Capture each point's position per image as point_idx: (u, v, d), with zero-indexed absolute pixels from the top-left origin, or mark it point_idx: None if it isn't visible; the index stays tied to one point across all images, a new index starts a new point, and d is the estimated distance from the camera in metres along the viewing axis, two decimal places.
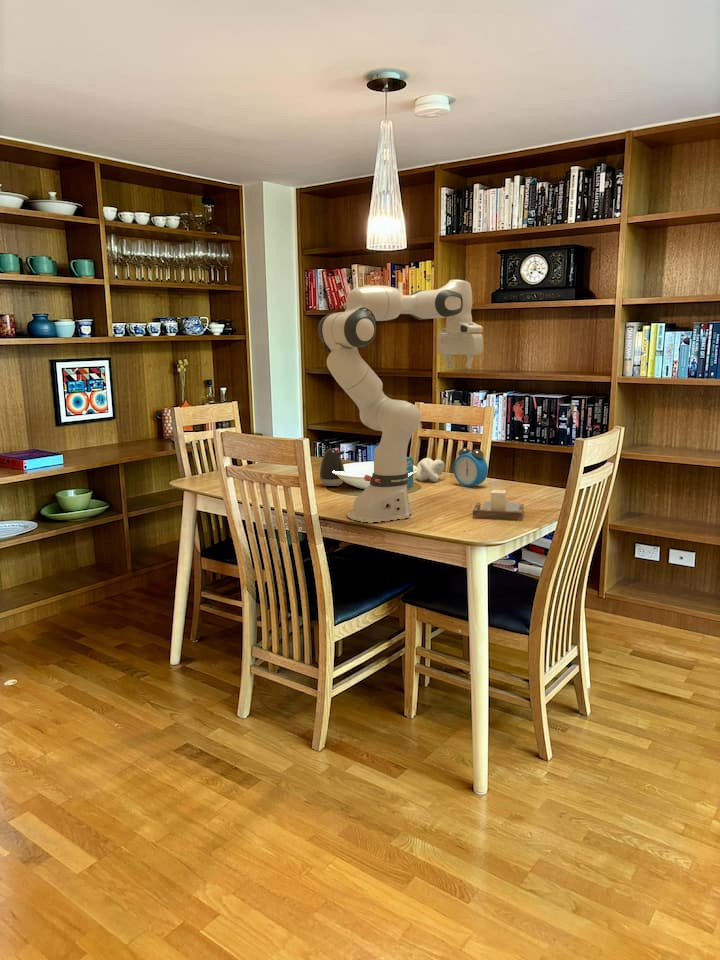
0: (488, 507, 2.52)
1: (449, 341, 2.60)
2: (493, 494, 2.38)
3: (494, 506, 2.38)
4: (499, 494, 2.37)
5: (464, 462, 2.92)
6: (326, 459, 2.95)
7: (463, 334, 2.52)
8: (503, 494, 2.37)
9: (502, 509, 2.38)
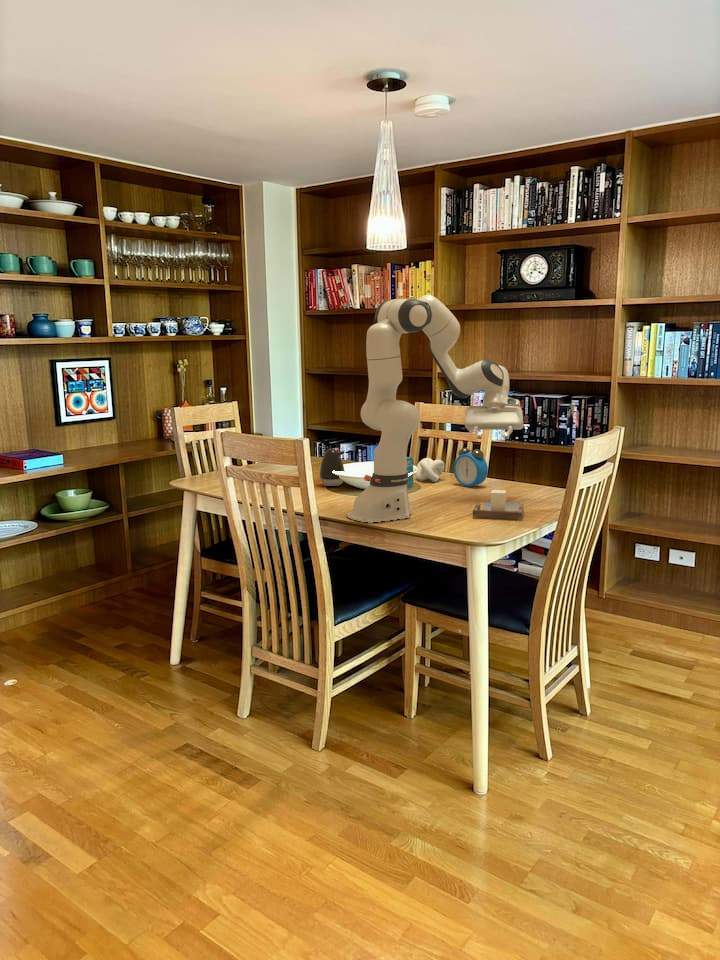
0: (488, 507, 2.52)
1: (484, 413, 2.59)
2: (493, 494, 2.38)
3: (494, 506, 2.38)
4: (499, 494, 2.37)
5: (464, 462, 2.92)
6: (326, 459, 2.95)
7: (509, 406, 2.57)
8: (503, 494, 2.37)
9: (502, 509, 2.38)
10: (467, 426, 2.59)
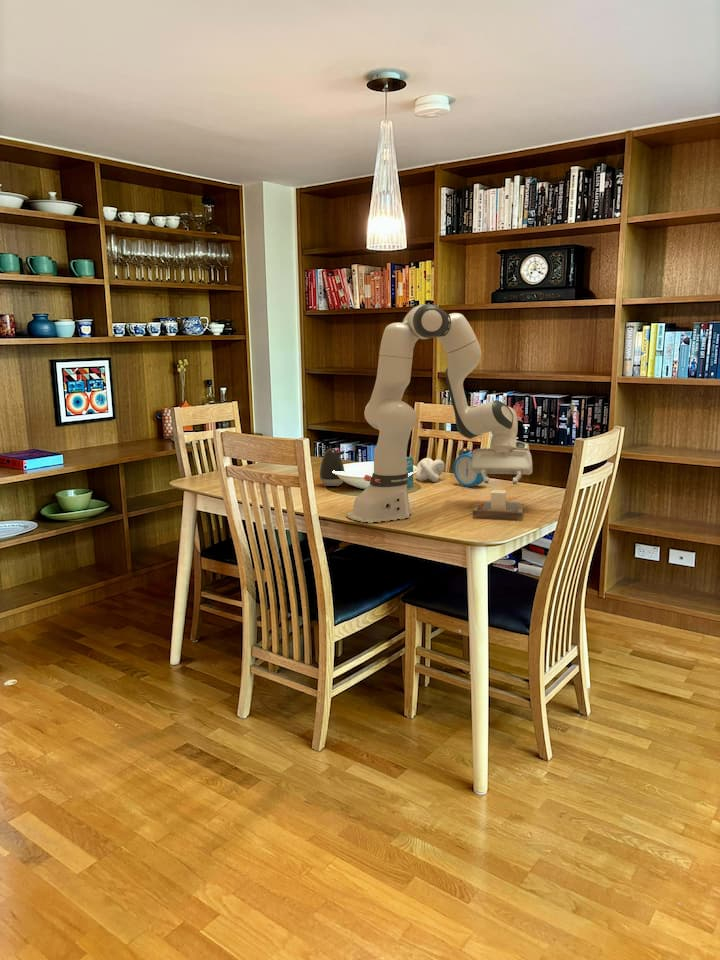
0: (488, 507, 2.52)
1: (492, 457, 2.49)
2: (493, 494, 2.38)
3: (494, 506, 2.38)
4: (499, 494, 2.37)
5: (464, 462, 2.92)
6: (326, 458, 2.95)
7: (518, 450, 2.47)
8: (503, 494, 2.37)
9: (502, 509, 2.38)
10: (474, 470, 2.49)
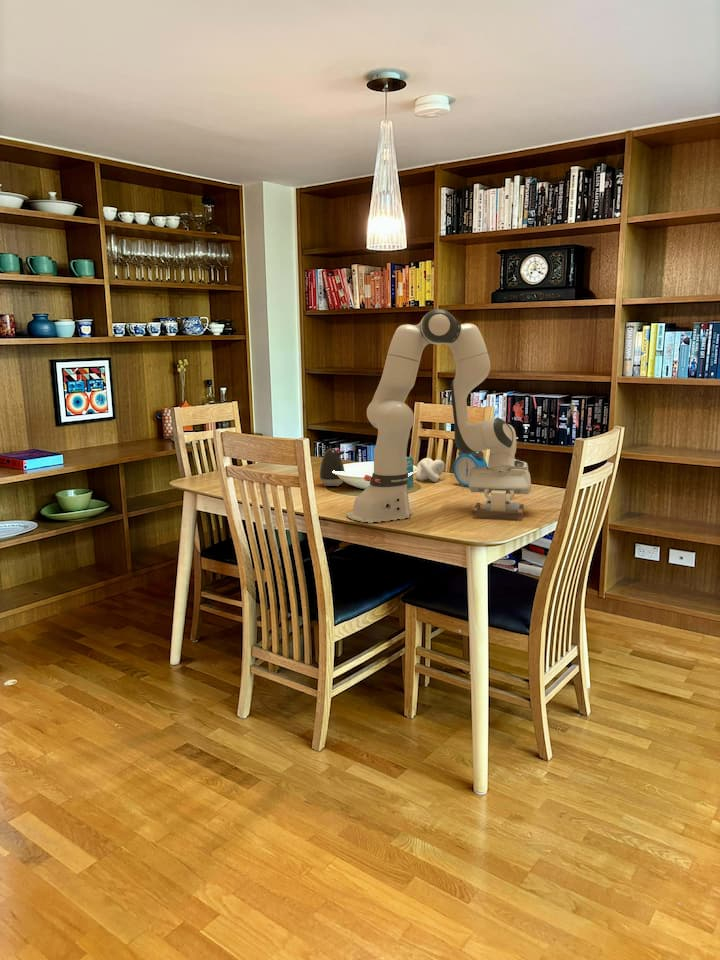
0: (488, 507, 2.52)
1: (490, 476, 2.44)
2: (493, 494, 2.38)
3: (494, 506, 2.38)
4: (499, 494, 2.37)
5: (464, 462, 2.92)
6: (326, 459, 2.95)
7: (516, 469, 2.42)
8: (503, 494, 2.37)
9: (502, 509, 2.38)
10: (471, 489, 2.44)
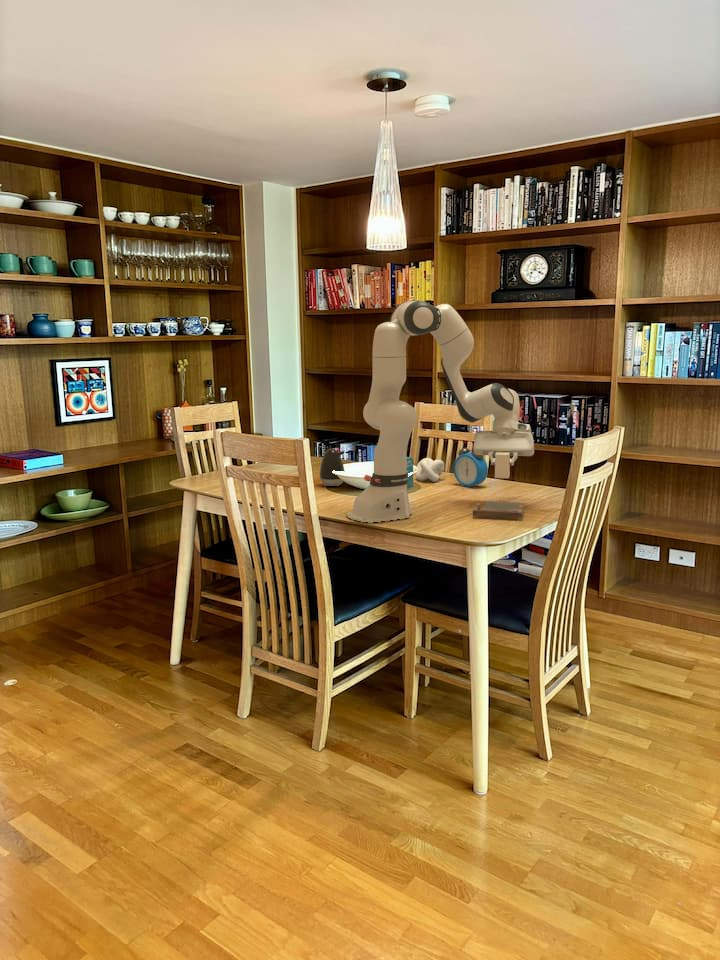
0: (488, 507, 2.52)
1: (494, 439, 2.51)
2: (497, 456, 2.45)
3: (498, 467, 2.46)
4: (503, 455, 2.44)
5: (464, 462, 2.92)
6: (326, 459, 2.95)
7: (519, 431, 2.49)
8: (507, 455, 2.44)
9: (505, 470, 2.45)
10: (476, 451, 2.51)
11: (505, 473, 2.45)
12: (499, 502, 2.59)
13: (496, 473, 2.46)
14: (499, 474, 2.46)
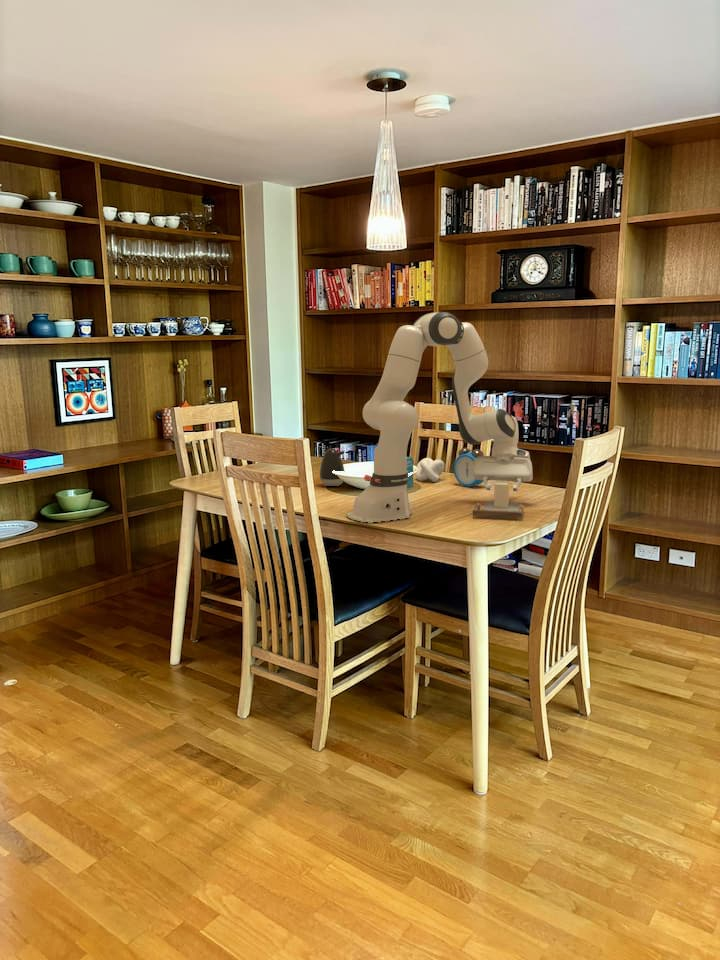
0: (488, 507, 2.52)
1: (493, 464, 2.56)
2: (496, 485, 2.50)
3: (497, 497, 2.51)
4: (502, 485, 2.50)
5: (464, 462, 2.92)
6: (326, 459, 2.95)
7: (518, 457, 2.54)
8: (506, 485, 2.50)
9: (504, 500, 2.51)
10: (476, 476, 2.56)
11: (504, 502, 2.51)
12: None
13: (495, 502, 2.52)
14: (498, 504, 2.52)
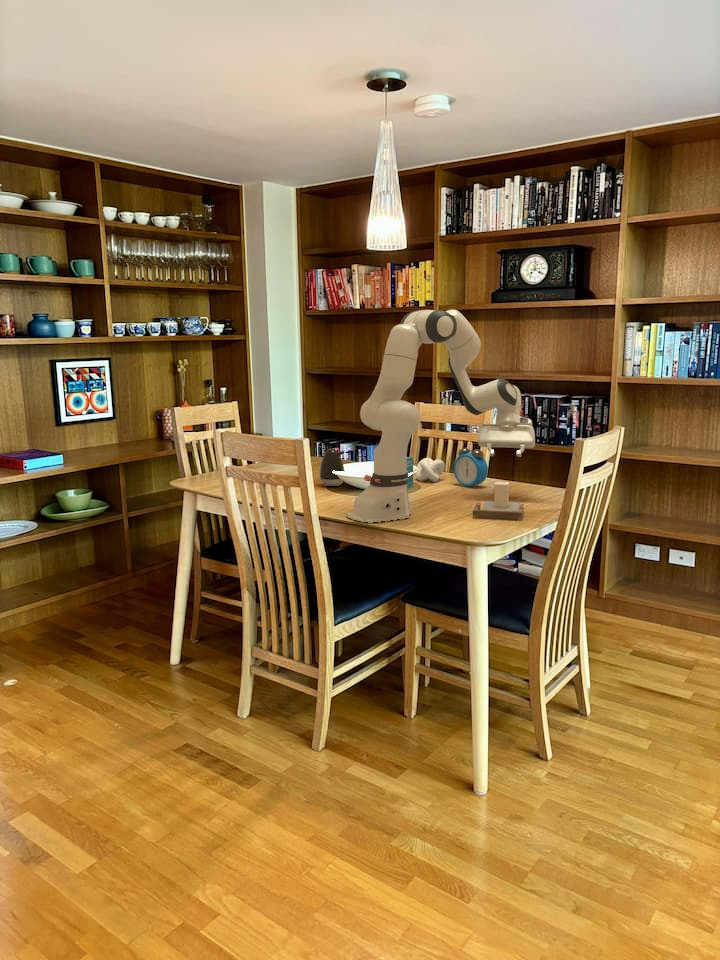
0: (488, 507, 2.52)
1: (497, 431, 2.66)
2: (496, 485, 2.50)
3: (497, 497, 2.51)
4: (502, 485, 2.50)
5: (464, 462, 2.92)
6: (326, 459, 2.95)
7: (521, 425, 2.64)
8: (506, 485, 2.50)
9: (504, 500, 2.51)
10: (480, 443, 2.66)
11: (504, 502, 2.51)
12: None
13: (495, 502, 2.52)
14: (498, 504, 2.52)
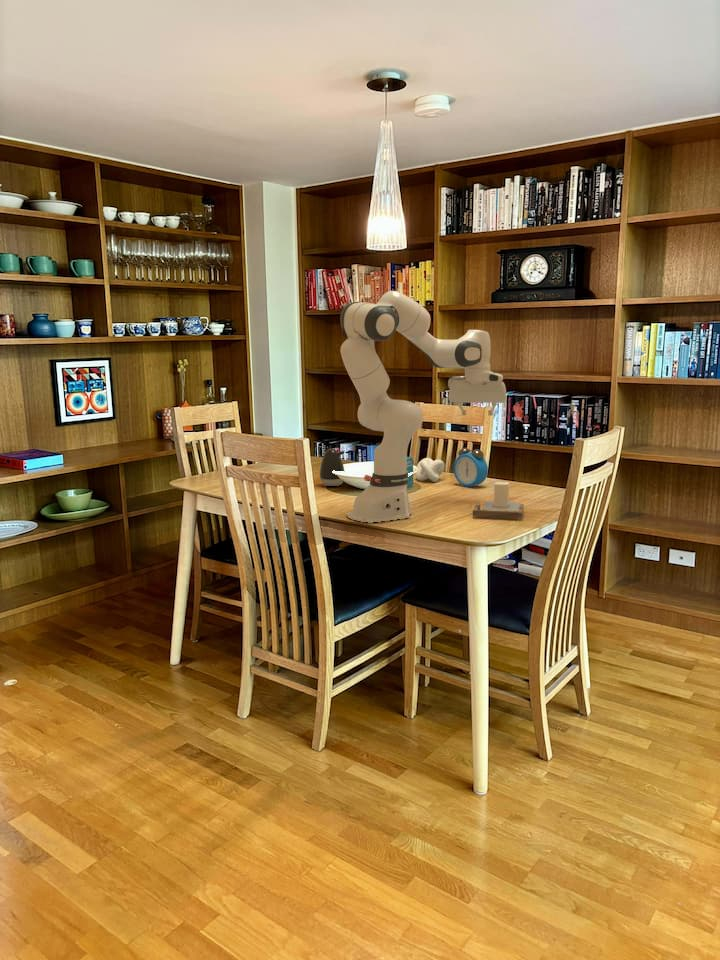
0: (488, 507, 2.52)
1: (467, 389, 2.60)
2: (496, 485, 2.50)
3: (497, 497, 2.51)
4: (502, 485, 2.50)
5: (464, 462, 2.92)
6: (326, 459, 2.95)
7: (491, 383, 2.57)
8: (506, 485, 2.50)
9: (504, 500, 2.51)
10: None
11: (504, 502, 2.51)
12: None
13: (495, 502, 2.52)
14: (498, 504, 2.52)
